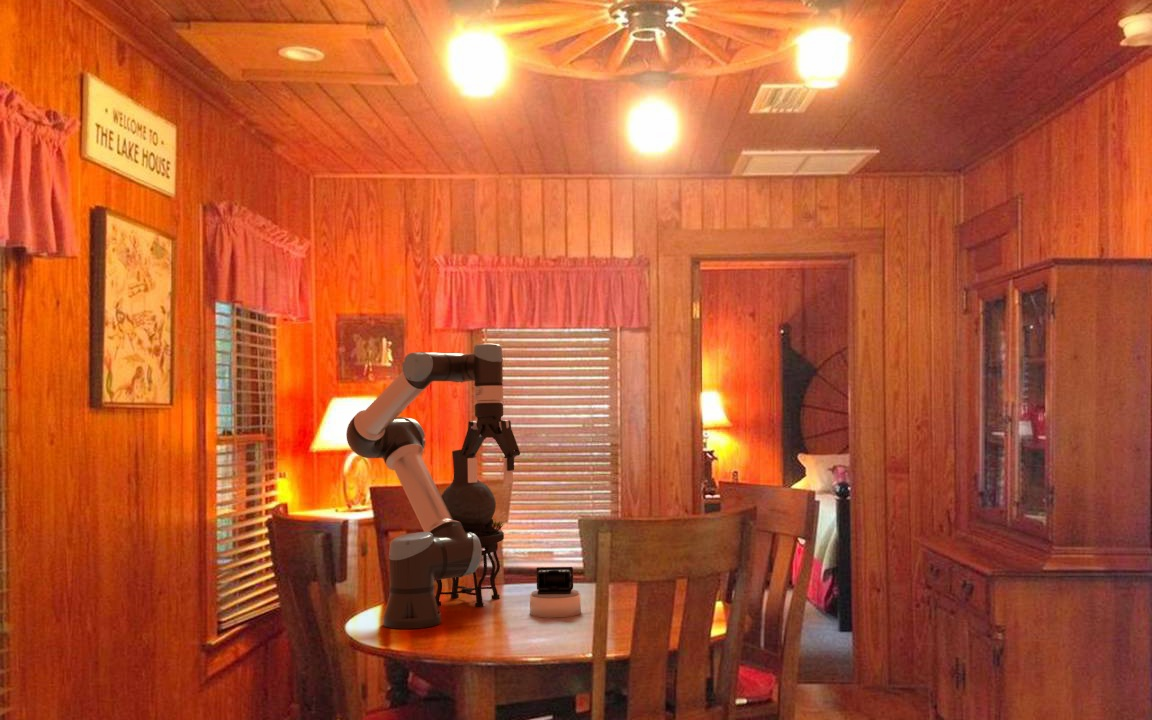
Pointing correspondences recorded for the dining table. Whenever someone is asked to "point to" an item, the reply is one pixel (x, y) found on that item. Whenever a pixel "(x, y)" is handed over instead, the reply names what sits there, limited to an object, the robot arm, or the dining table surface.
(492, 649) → the dining table surface
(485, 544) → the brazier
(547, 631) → the dining table surface
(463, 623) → the dining table surface
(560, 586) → the end cap
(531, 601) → the stand
